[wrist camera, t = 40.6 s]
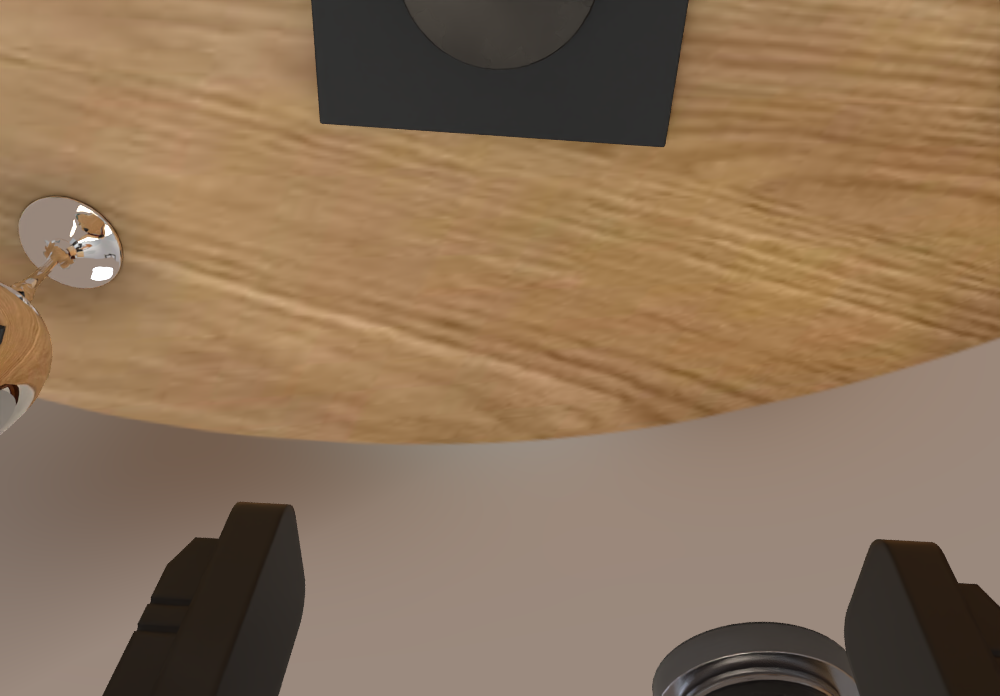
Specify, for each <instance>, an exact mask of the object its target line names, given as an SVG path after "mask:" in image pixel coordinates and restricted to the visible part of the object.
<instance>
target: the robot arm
mask: <svg viewBox="0 0 1000 696" xmlns="http://www.w3.org/2000/svg"><path fill="white" fill-rule="evenodd" d="M304 598H305V578H304V570H303V563H302V557H301V550H300V543H299V536H298V530H297V523H296V516H295V511H294V508H293V506H291V505H288V504H270V503H252V502H251V503H250V502H238V503H236V505H234V507H233V508H232V511H231V512H230V515H229V517H228V519H227V521H226V524H225V526H224V528H223V531H222V533H221V535H220V537H219V539H214V538H197V537H196V538H195V539H193V540H192V541H191V543H189V544H188V545H187V546H186V547H185V548H184V549H183V550H182V551H181V552H180V553H179V554H178V555H177V556H176V557H175V558H174V559H173V560H172V561H170V562H169V563H168V564H167V566H166V568H165V570H164V572H163V574H162V576H161V578H160V580H159V582H158V584H157V586H156V588H155V590H154V593H153V594H152V596H151V602H150V604H147V607H146V608H145V610H144V613H143V614H142V616H141V618H140V621H139V623H138V629H137V631H134V633H133V635H132V637H131V639H130V641H129V643H128V645H127V647H126V649H125V651H124V653H123V655H122V657H121V659H120V661H119V663H118V665H117V667H116V669H115V671H114V673H113V675H112V677H111V680H110V681H109V684H108V685H107V687H106V690H105V691H104V694H103V696H278V694H279V692H280V688H281V685H282V681H283V678H284V675H285V672H286V668H287V665H288V662H289V658H290V655H291V652H292V649H293V645H294V642H295V639H296V636H297V632H298V629H299V626H300V622H301V618H302V613H303V607H304ZM844 638H845V647H846V653H847V657H848V661H849V664H850V667H851V670H852V673H853V676H854V680H855V683H856V686H857V689H858V692H859V695H860V696H1000V607H999V606H998V605H997V604H996V603H995V602H994V601H993V600H992V599H991V598H990V597H989V596H988V595H987V594H986V593H985V592H984V591H983V590H982V589H981V588H980V587H979V586H978V585H977V584H963V583H958V582H957V580H956V578H955V576H954V574H953V572H952V570H951V568H950V566H949V564H948V562H947V559H946V557H945V555H944V553H943V552H942V550H941V549H940V547H939V546H938V545H937V544H935V543H933V542H918V541H917V542H915V541H899V540H881V539H877V540H875V541H874V542H873V543H872V544H871V545H870V548H869V550H868V553H867V556H866V558H865V561H864V564H863V567H862V570H861V573H860V575H859V578H858V581H857V584H856V587H855V589H854V593H853V595H852V598H851V601H850V603H849V606H848V609H847V612H846V617H845V626H844ZM687 696H839V695H838V694H837V692H836V691H835V690H834V689H833V688H832V687H831V686H829V685H828V684H827V683H825V682H824V681H822V680H820V679H818V678H817V677H814V676H812V675H810V674H807V673H804V672H800V671H796V670H791V669H785V668H776V667H756V668H746V669H740V670H735V671H731V672H727V673H724V674H721V675H718V676H716V677H713V678H711V679H709V680H707V681H705V682H703V683H701V684H700V685H698V686H697V687H696V688H694V689H693V690H692V691H691V692H690V693H689V694H688V695H687Z"/></svg>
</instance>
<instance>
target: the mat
mask: <svg viewBox="0 0 1000 696" xmlns="http://www.w3.org/2000/svg"><path fill="white" fill-rule="evenodd" d="M688 1H689V0H595V1H594V4H593V6H592V9H591V11H590V13H589V15H588V16H587V18H586V20H585V22H584V23H583V25H582V26H581V28H580V29H579V30H578V32H577V33H576V34H575V35H574V36H573V37H572V38H571V39H570V41H569V42H568V43H567V44H565V45H564V46H563V47H562V48H561V49H559V50H558V51H557V52H555V53H554V54H552V55H550V56H549V57H547V58H546V59H544V60H541V61H539V62H537V63H535V64H532V65H528V66H525V67H522V68H516V69H510V70H491V69H483V68H479V67H474V66H470V65H468V64H465V63H463V62H460V61H458V60H456V59H454V58H452V57H450V56H449V55H447V54H445V53H444V52H443V51H441V50H440V49H438V48H437V47H436V46H435V45H434V44H433V43H432V42H430V41H429V40H428V39H427V38H426V37H425V35H424V34H423V33H422V32H421V31H420V30H419V28H418V27H417V25H416V24H415V22H414V21H413V19H412V18H411V16H410V14H409V12H408V10H407V8H406V6H405V4H404V2H403V0H311V3H312V17H313V31H314V45H315V59H316V73H317V87H318V101H319V115H320V122H321V123H322V124H334V125H349V126H363V127H378V128H392V129H407V130H421V131H436V132H450V133H465V134H479V135H493V136H508V137H522V138H537V139H551V140H566V141H580V142H595V143H609V144H624V145H638V146H653V147H664V146H665V144H666V137H667V131H668V125H669V119H670V113H671V106H672V100H673V94H674V88H675V82H676V75H677V69H678V63H679V57H680V50H681V44H682V38H683V32H684V26H685V19H686V13H687V7H688Z"/></svg>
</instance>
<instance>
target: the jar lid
mask: <svg viewBox="0 0 1000 696" xmlns="http://www.w3.org/2000/svg"><path fill="white" fill-rule="evenodd" d="M594 1H595V0H403V2H404V4H405V6H406V8H407V10H408V12H409V14H410V16H411V18H412V19H413V21H414V22H415V24H416V25H417V27H418V28H419V30H420V31H421V32H422V33H423V34H424V35H425V37H426V38H427V39H428V40H429V41H430V42H432V43H433V44H434V45H435V46H436V47H437V48H438V49H440V50H441V51H443V52H444V53H445V54H447V55H449V56H450V57H452V58H454V59H456V60H458V61H460V62H463V63H465V64H468V65H470V66H474V67H479V68H483V69H491V70H510V69H516V68H522V67H525V66H528V65H532V64H535V63H537V62H539V61H541V60H544V59H546V58H547V57H549V56H550V55H552V54H554V53H555V52H557V51H558V50H559V49H561V48H562V47H563V46H564V45H565V44H567V43H568V42H569V41H570V39H571V38H572V37H573V36H574V35H575V34H576V33H577V32H578V30H579V29H580V28H581V26H582V25H583V23H584V22H585V20H586V18H587V16H588V15H589V13H590V11H591V9H592V6H593V4H594Z"/></svg>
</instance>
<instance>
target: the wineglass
mask: <svg viewBox="0 0 1000 696" xmlns="http://www.w3.org/2000/svg"><path fill="white" fill-rule="evenodd" d="M18 235H19V240H20V243H21V246H22V248H23V250H24V252H25V254H26V255H27V257H28V258H29V260H30V261H31V262H32V263H33V264H34V265H35V267H36V268H38V269H37V270H36V271H35V272H34V273H33V274H31V275H30V276H28V277H27V278H25V279H24V280H22V281H21V282H17V283H14V284H13V285H11V286H8V285H6V284H4V283H2V282H0V434H2V433H3V432H4V431H5V430H7V429H8V428H9V427H10V426H11V425H12V424H13V423H14V422H15V421H16V420H17V419H18V418H19V417H20V416H22V415H23V414H24V413H25V412H26V411H27V410H28V408H29V407H30V406H31V405H32V404H33V402H34V401H35V400H36V398H37V397H38V395H39V393H40V391H41V389H42V387H43V385H44V384H45V382H46V380H47V378H48V376H49V373H50V369H51V363H52V343H51V338H50V334H49V331H48V329H47V326H46V324H45V322H44V321H43V319H42V317H41V315H40V314H39V312H38V311H37V310H36V308H35V307H34V306H33V305H32V304H31V301H32V300H33V298H34V293H35V291H36V289H37V287H38V286H39V284H40V283H41V282H42V281H43V280H44V278H46V277H47V276H48V277H49V278H51V279H53V280H54V281H56V282H58V283H61V284H63V285H66V286H69V287H73V288H79V289H92V288H97V287H101V286H103V285H105V284H108V283H109V282H110V281H112V280H113V279H114V278H115V277H116V276H117V274H118V273H119V271H120V269H121V265H122V260H123V252H122V246H121V243H120V240H119V238H118V235H117V234H116V232H115V230H114V229H113V227H112V226H111V225H110V223H109V222H108V221H107V220H106V219H105V218H104V217H103V216H102V215H101V214H100V213H98V212H97V211H96V210H94V209H93V208H91V207H90V206H88V205H86V204H84V203H82V202H80V201H77V200H74V199H71V198H67V197H60V196H48V197H44V198H40V199H37V200H35V201H33V202H32V203H30V204H29V205H28V206H27V207H26V208H25V209H24V211H23V212H22V214H21V216H20V219H19V223H18Z"/></svg>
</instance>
